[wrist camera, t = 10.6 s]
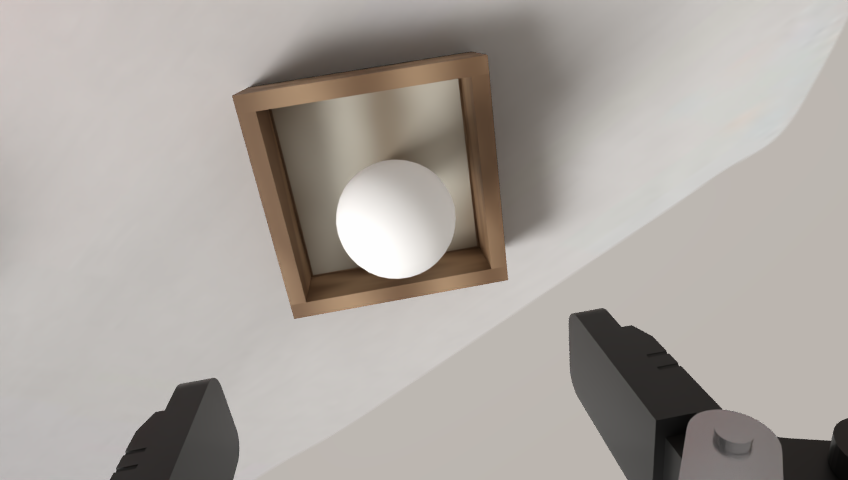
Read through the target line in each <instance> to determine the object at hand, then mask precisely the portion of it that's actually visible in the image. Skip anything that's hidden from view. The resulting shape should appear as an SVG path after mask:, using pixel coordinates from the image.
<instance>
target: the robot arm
mask: <svg viewBox="0 0 848 480" xmlns="http://www.w3.org/2000/svg"><path fill="white" fill-rule="evenodd" d="M569 351H570V373H571V379H572V383H573V386H574V389H575V392H576V394H577V396H578V398H579V400H580V401H581V403H582V405H583V406H584V408H585V410H586V411H587V413H588V415H589V416H590V418H591V420H592V421H593V423H594V425H595V426H596V428H597V430H598V431H599V433H600V435H601V436H602V438H603V440H604V441H605V443H606V444H607V446H608V448H609V450H610V451H611V453H612V455H613V456H614V458H615V459H616V461H617V463H618V465H619V466H620V468H621V470H622V471H623V473H624V475H625V476H626V478H627V479H628V480H848V418H847V419H845V420H842V421H840V422H839V423H838V424H837V425H836V426H835V428H834V431H833V436H832V440H831V441H824V440H807V439H791V438H780V437H776V435H775V434H774V433H773V432H772V431H771V430H770V429H769V428H767V426H765V425H764V424H762V423H761V422H759V421H758V420H756V419H754V418H752V417H750V416H747V415H744V414H742V413H738V412H734V411H729V410H722V408H721V407H720V406H719V405H718V404H717V403H716V402H715V401H714V400H713V399H712V398H711V397H710V396H709V395H708V394H707V393H706V392H705V391H704V390H703V389H702V388H701V386H700V385H699V384H698V383H697V382H696V381H695V380H694V379H693V378H692V377H691V376H690V375H689V374H688V373H687V372H686V371H685V370H684V369H683V368H682V367H681V366H679V365H678V363H677V361H676V360H675V359H674V358H673V357H672V356H671V355H670V354H667V352H666V350H665V349H664V348H663V347H662V346H661V345H660V344H659V343H658V342H657V341H656V339H655V338H653V336H651V335H649V334H647V333H645V332H643V331H641V330H640V329H638V328H635V327H634V326H632V325H631V326H625V327H621V326H620V325H619V324H618V323H617V322H616V320H615V319H614V318H613V317H612V316H611V315H610V314H609V312H608V311H607V310H606V309H603V308H601V309H595V310H590V311H584V312H579V313H574V314H571V315H570V318H569ZM125 452H126V454H125V455H124V456H123V457H122V459H121V460H120V462H119V464H118V466H117V468H116V473H113V475H112V477H111V479H110V480H233V478H234V474H235V470H236V467H237V463H238V458H239V439H238V433H237V430H236V427H235V424H234V421H233V418H232V416H231V413H230V410H229V407H228V404H227V401H226V399H225V396H224V393H223V390H222V387H221V385H220V383H219V381H218V380H217V379H216V378H211V379H205V380H200V381H194V382H189V383H183V384H179V385H178V386H177V387H176V389H175V391H174V393H173V395H172V397H171V399H170V401H169V403H168V405H167V407H166V409H165V411H159V412H155V413H154V414H153V415H152V416H151V417H150V418H149V419H148V420H147V421H146V422H145V423H144V424H143V425H142V426H141V427H140V428H139V429H138V430H137V431H136V433H135V435H134V436H133V438H132V440H131V442H130V444H129V446H128V447H127V449H126V451H125Z"/></svg>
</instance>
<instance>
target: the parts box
mask: <svg viewBox="0 0 848 480" xmlns="http://www.w3.org/2000/svg"><path fill="white" fill-rule="evenodd" d="M232 97H233V101H234V104H235V108H236V112H237V115H238V119H239V122H240V126H241V130H242V133H243V137H244V140H245V144H246V147H247V151H248V155H249V158H250V162H251V165H252V169H253V173H254V176H255V180H256V183H257V187H258V191H259V194H260V198H261V201H262V205H263V208H264V212H265V216H266V219H267V223H268V226H269V230H270V234H271V237H272V241H273V244H274V248H275V251H276V255H277V259H278V262H279V266H280V269H281V273H282V277H283V280H284V284H285V287H286V291H287V295H288V298H289V302H290V305H291V309H292V312H293V316H294V319H296V318H302V317H307V316H313V315H318V314H324V313H329V312H335V311H340V310H346V309H351V308H357V307H362V306H368V305H373V304H379V303H384V302H390V301H395V300H401V299H406V298H412V297H417V296H423V295H428V294H434V293H439V292H445V291H450V290H456V289H461V288H467V287H472V286H478V285H483V284H489V283H494V282H500V281H505V280H508V275H507V264H506V253H505V242H504V231H503V220H502V209H501V198H500V187H499V176H498V165H497V154H496V143H495V132H494V121H493V110H492V99H491V88H490V77H489V66H488V55H486V54H481V53H476V52H467V53H460V54H454V55H448V56H442V57H435V58H429V59H423V60H417V61H410V62H404V63H398V64H392V65H385V66H379V67H373V68H366V69H360V70H354V71H348V72H341V73H335V74H329V75H323V76H316V77H310V78H304V79H298V80H291V81H285V82H279V83H273V84H266V85H260V86H254V87H248V88H246V89H244V90H242V91H240V92H239V93H237V94H235V95H233V96H232ZM393 159H394V160H407V161H410V162H414V163H418V164H420V165H422V166H424V167H426V168H428V169H429V170H431V171H432V172H433V173H435V174H436V175H437V176H438V177H439V178H440V179H441V181H442V182H443V183H444V184H445V186H446V188H447V190H448V191H449V193H450V195H451V197H452V200H453V203H454V207H455V216H456V221H455V230H454V235H453V238H452V241H451V243H450V245H449V247H448V249H447V250H446V252H445V254H444V255H443V256H442V257H441V258H440V260H439V261H438V262H437V263H436V264H435V265H433V266H432V267H431V268H430V269H428V270H426V271H424V272H422V273H421V274H418V275H415V276H412V277H408V278H401V279H391V278H384V277H380V276H377V275H374V274H372V273H370V272H368V271H366V270H365V269H363V268H362V267H360V266H359V265H357V264H356V263H355V262H354V261H353V260H352V259H351V258H350V257H349V255H348V254H347V252H346V251H345V249H344V247H343V245H342V243H341V241H340V238H339V236H338V231H337V226H336V212H337V207H338V203H339V199H340V196H341V194H342V192H343V190H344V188H345V187H346V185H347V184H348V183H349V181H350V180H351V179H352V178H353V177H354V176H355V175H356V174H358V173H359V172H360V171H361V170H363V169H365V168H367V167H368V166H370V165H372V164H375V163H378V162H381V161H386V160H393Z"/></svg>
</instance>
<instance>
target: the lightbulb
mask: <svg viewBox="0 0 848 480" xmlns="http://www.w3.org/2000/svg"><path fill="white" fill-rule="evenodd" d="M455 221H456V216H455V207H454V203H453V200H452V197H451V195H450V193H449V191H448V190H447V188H446V186H445V184H444V183H443V182H442V181H441V179H440V178H439V177H438V176H437V175H436V174H435V173H433V172H432V171H431V170H429V169H428V168H426V167H424V166H422V165H420V164H418V163H414V162H410V161H407V160H394V159H393V160H386V161H381V162H378V163H375V164H372V165H370V166H368V167H367V168H365V169H363V170H361V171H360V172H359V173H358V174H356V175H355V176H354V177H353V178H352V179H351V180H350V181H349V183H348V184H347V185H346V187H345V188H344V190H343V192H342V194H341V196H340V199H339V203H338V207H337V212H336V226H337V231H338V236H339V238H340V241H341V243H342V245H343V247H344V249H345V251H346V252H347V254H348V255H349V257H350V258H351V259H352V260H353V261H354V262H355V263H356V264H357V265H359V266H360V267H362V268H363V269H365V270H366V271H368V272H370V273H372V274H374V275H377V276H380V277H384V278H391V279H401V278H408V277H412V276H415V275H418V274H421V273H422V272H424V271H426V270H428V269H430V268H431V267H432V266H433V265H435V264H436V263H437V262H438V261H439V260H440V258H441V257H442V256H443V255H444V254H445V252H446V250H447V249H448V247H449V245H450V243H451V241H452V238H453V235H454V230H455Z"/></svg>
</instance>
